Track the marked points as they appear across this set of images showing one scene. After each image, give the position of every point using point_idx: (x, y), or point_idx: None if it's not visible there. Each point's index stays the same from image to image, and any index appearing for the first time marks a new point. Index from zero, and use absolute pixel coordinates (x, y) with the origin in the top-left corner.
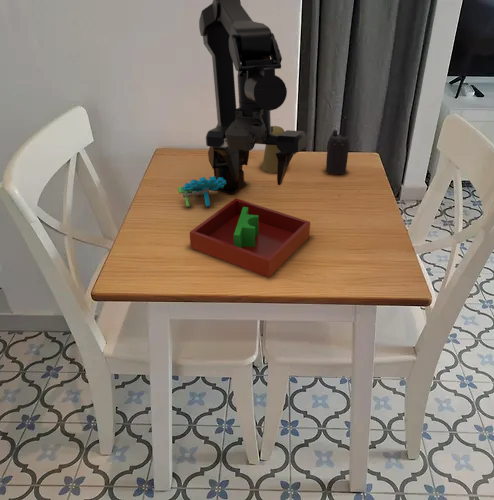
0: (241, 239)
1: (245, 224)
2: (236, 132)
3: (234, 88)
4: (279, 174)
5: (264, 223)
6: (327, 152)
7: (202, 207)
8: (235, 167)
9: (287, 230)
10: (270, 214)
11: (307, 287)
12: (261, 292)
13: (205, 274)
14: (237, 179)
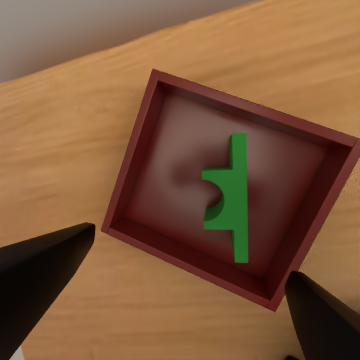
0: (230, 160)
1: (226, 184)
2: None
3: None
4: (42, 241)
5: (200, 250)
6: None
7: (345, 302)
8: (331, 340)
9: (154, 231)
10: (185, 258)
11: (99, 74)
12: (168, 37)
13: (284, 61)
14: (288, 282)
